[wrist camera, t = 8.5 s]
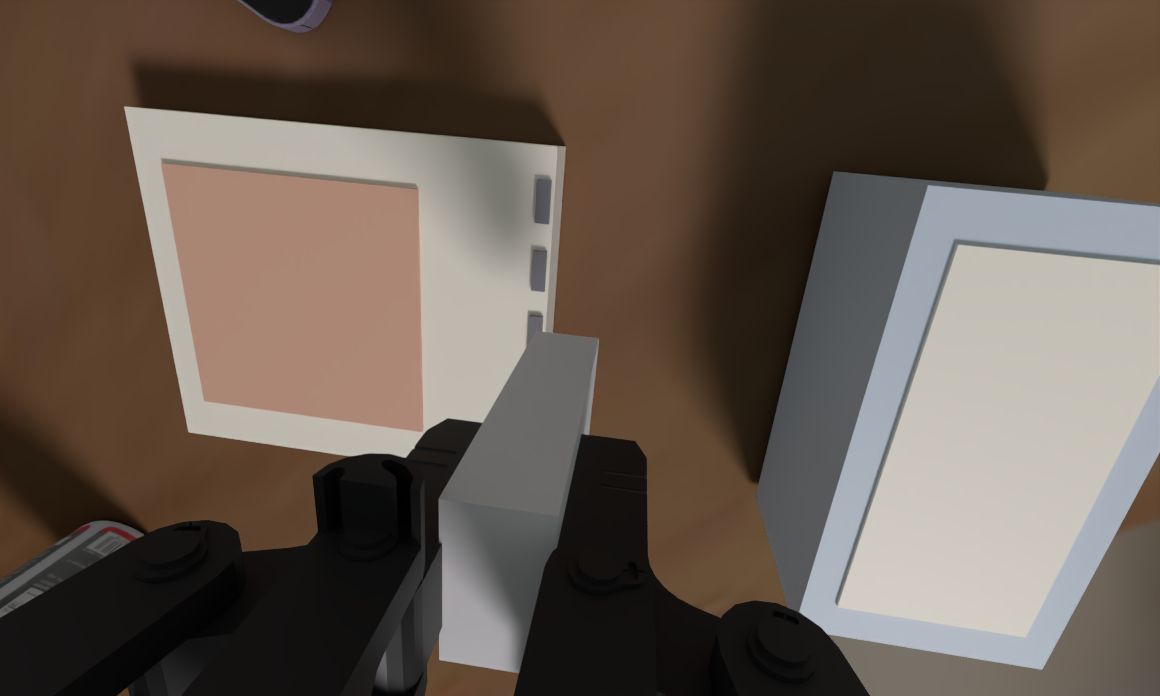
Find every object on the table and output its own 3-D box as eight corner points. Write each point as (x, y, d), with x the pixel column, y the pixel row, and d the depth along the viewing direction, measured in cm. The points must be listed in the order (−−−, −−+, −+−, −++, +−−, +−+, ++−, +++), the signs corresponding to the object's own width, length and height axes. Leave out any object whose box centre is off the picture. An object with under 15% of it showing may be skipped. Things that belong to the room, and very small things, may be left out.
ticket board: (218, 413, 21) (185, 434, 20) (166, 109, 17) (119, 106, 16) (543, 460, 20) (534, 486, 19) (565, 146, 16) (556, 146, 15)
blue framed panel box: (755, 496, 19) (795, 632, 14) (833, 171, 15) (930, 185, 10) (932, 521, 19) (1044, 673, 13) (1059, 192, 15) (1293, 219, 9)
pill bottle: (96, 595, 26) (-139, 785, 18) (63, 513, 24) (-212, 684, 17) (186, 604, 26) (-19, 805, 18) (158, 521, 24) (-81, 702, 16)
